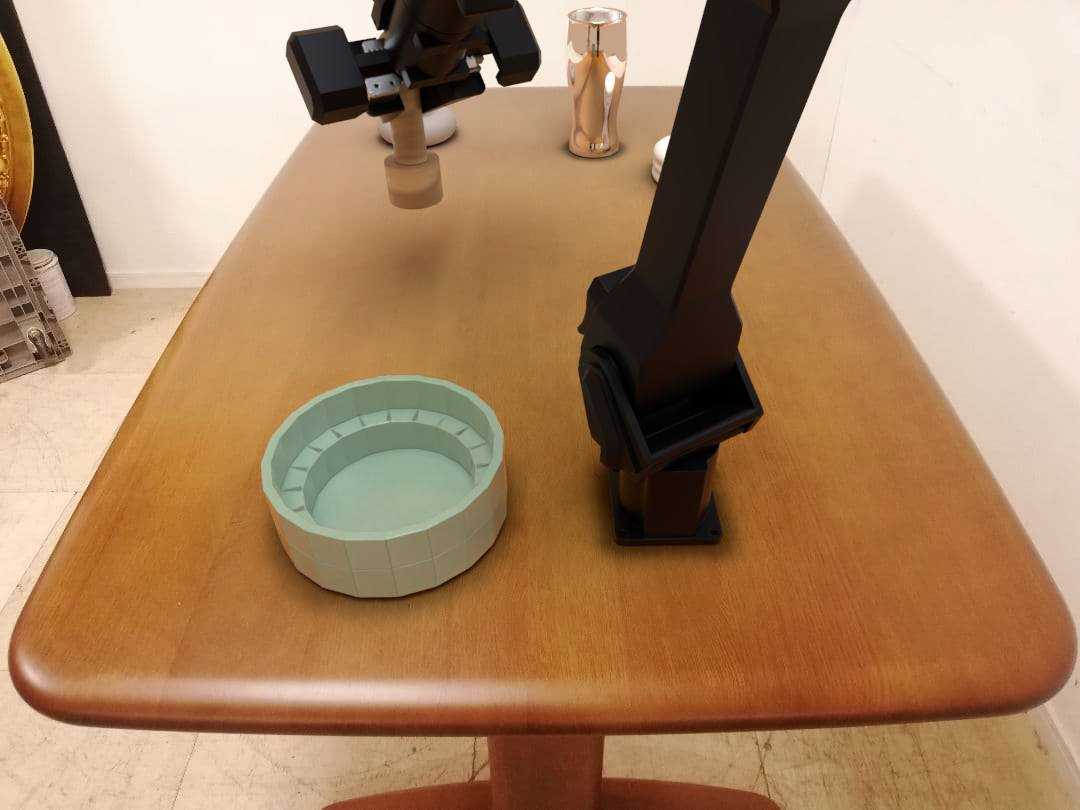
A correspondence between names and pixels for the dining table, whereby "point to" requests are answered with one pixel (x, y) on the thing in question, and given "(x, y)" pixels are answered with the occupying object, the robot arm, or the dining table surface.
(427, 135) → the donut
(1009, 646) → the dining table surface
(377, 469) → the bowl
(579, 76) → the beer glass
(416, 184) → the pestle
